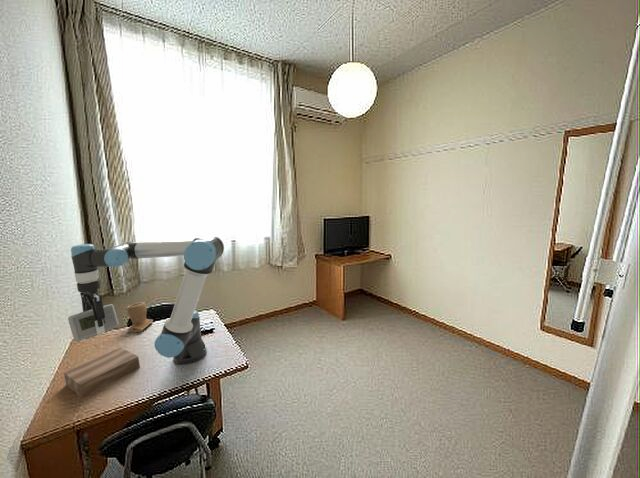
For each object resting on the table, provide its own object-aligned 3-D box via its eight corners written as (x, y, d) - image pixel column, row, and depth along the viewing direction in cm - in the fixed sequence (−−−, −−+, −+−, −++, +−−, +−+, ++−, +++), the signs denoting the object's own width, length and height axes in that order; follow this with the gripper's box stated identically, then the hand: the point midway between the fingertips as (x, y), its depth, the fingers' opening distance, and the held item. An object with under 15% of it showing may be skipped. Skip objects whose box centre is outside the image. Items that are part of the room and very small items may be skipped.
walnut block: (139, 368, 131) (138, 356, 130) (82, 398, 112) (80, 384, 111) (122, 358, 139) (120, 347, 138) (66, 385, 120) (63, 372, 119)
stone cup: (136, 322, 179) (133, 299, 176) (156, 321, 179) (153, 299, 176) (121, 334, 164) (117, 310, 161) (142, 333, 164) (139, 309, 162)
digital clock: (72, 344, 113) (68, 319, 111) (71, 336, 119) (66, 312, 118) (121, 329, 124) (117, 307, 122) (117, 323, 131) (113, 301, 129)
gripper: (109, 281, 116) (117, 332, 120) (88, 275, 126) (96, 322, 130) (88, 287, 110) (97, 340, 114) (67, 280, 120) (76, 329, 124)
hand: (96, 331), depth 122 cm, fingers closed on digital clock, 7 cm apart
